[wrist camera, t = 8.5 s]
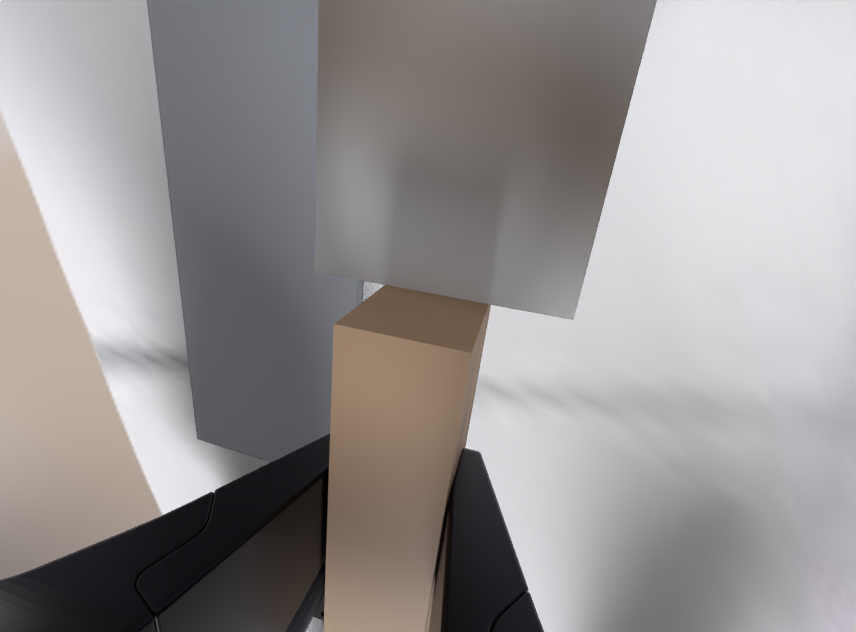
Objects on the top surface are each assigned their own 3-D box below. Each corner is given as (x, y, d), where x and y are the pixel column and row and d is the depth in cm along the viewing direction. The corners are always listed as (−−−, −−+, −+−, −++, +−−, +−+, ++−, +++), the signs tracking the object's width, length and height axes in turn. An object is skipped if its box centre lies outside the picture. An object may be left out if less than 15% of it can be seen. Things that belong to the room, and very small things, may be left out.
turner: (497, 589, 11) (484, 731, 8) (324, 534, 12) (259, 645, 9) (671, -91, 6) (793, -330, 3) (344, -92, 7) (210, -275, 4)
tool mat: (350, 475, 19) (345, 484, 19) (206, 432, 21) (197, 439, 20) (391, -153, 11) (383, -169, 10) (146, -149, 13) (128, -163, 12)
